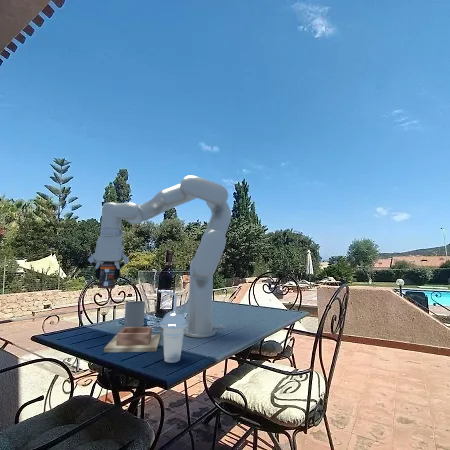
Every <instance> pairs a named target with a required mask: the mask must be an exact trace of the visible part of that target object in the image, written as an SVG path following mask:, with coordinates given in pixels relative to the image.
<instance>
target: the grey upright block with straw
mask: <svg viewBox="0 0 450 450" xmlns="http://www.w3.org/2000/svg"><path fill="white" fill-rule="evenodd" d="M157 293H162V294H166V295H171V296H174V297H173V310H171V311H169V312H167V313H166V314H165V315H164V316H163V318H162V321H160V322H159V325H158V326H159V327H160V328H161V333H162V340H163V342H162V343H163V356H164V357H163V358H164V359H163V360H164V362H166V363H177V362H179V361H181V354H182V347H183V342H184V336H185V335H184V333H185V329H186V328H188V320H186V317H185V315H184V314H183V313H182V312H180V311H178V310H177V301H178V300H177V299H178V296H177V294H176V293H175V292H173V291H168V290H162V289H158V291H157Z"/></svg>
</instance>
